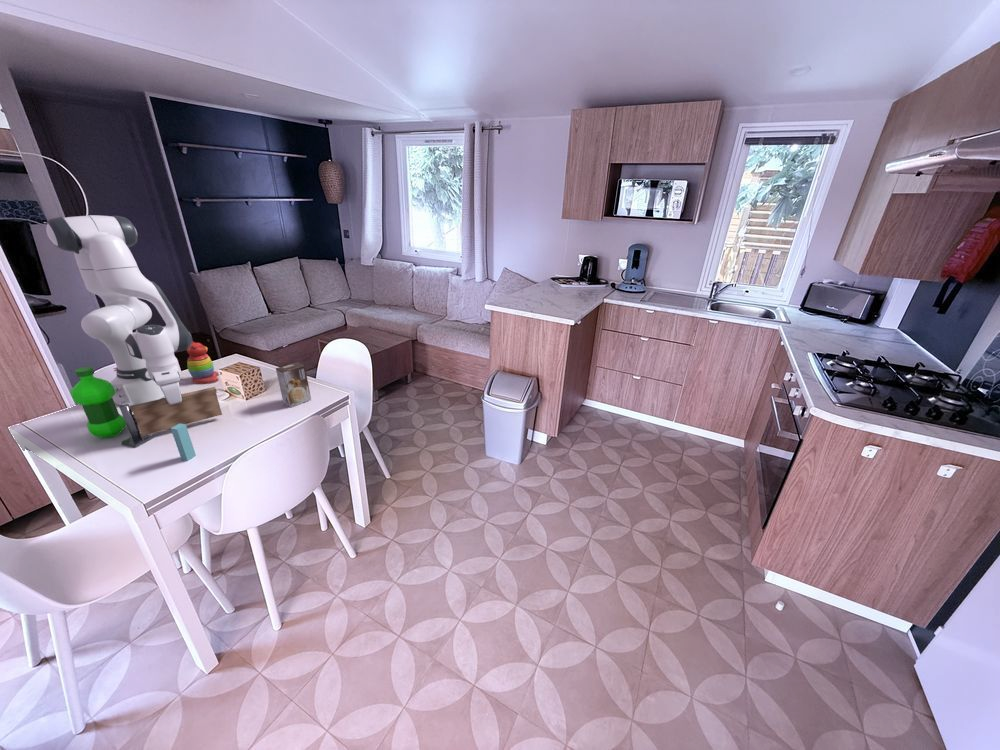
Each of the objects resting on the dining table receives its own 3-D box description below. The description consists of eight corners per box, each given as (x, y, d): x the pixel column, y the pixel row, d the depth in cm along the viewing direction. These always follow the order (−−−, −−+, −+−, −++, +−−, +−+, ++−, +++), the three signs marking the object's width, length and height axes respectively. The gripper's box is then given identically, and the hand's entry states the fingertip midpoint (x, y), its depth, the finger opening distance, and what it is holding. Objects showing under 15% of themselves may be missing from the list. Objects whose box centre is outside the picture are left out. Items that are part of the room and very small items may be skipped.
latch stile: (181, 459, 130) (170, 428, 125) (189, 454, 132) (179, 423, 127) (187, 460, 129) (176, 429, 124) (196, 455, 132) (185, 424, 127)
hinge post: (121, 444, 135) (106, 408, 130) (139, 435, 141) (126, 400, 135) (136, 447, 134) (121, 411, 128) (153, 437, 140) (140, 402, 134)
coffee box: (303, 395, 173) (297, 361, 166) (311, 400, 169) (305, 365, 163) (282, 403, 166) (275, 367, 159) (290, 408, 162) (283, 372, 156)
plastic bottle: (84, 443, 135) (52, 377, 124) (102, 427, 144) (75, 364, 134) (119, 440, 137) (92, 374, 127) (136, 424, 147) (111, 362, 136)
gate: (141, 436, 137) (130, 408, 132) (140, 433, 138) (129, 405, 134) (223, 414, 152) (215, 389, 147) (221, 412, 153) (214, 386, 149)
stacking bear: (218, 382, 180) (208, 345, 173) (191, 386, 175) (179, 348, 168) (218, 373, 189) (209, 337, 181) (192, 377, 184) (181, 340, 176)
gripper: (150, 363, 146) (162, 397, 151) (156, 383, 132) (168, 418, 138) (172, 359, 150) (182, 392, 155) (179, 378, 136) (191, 413, 142)
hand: (176, 405), depth 147 cm, fingers closed
